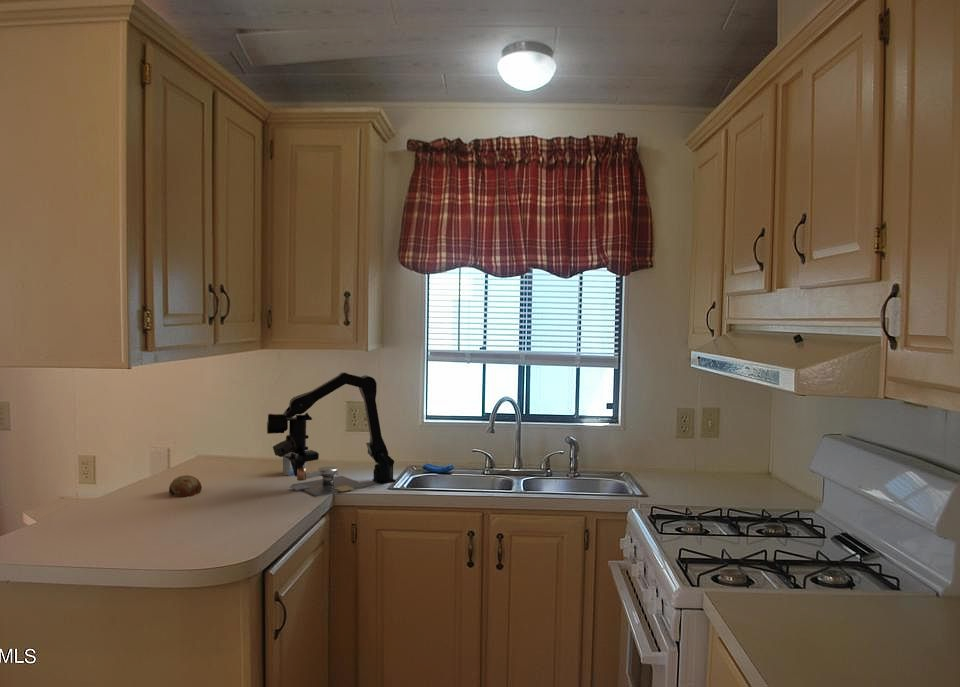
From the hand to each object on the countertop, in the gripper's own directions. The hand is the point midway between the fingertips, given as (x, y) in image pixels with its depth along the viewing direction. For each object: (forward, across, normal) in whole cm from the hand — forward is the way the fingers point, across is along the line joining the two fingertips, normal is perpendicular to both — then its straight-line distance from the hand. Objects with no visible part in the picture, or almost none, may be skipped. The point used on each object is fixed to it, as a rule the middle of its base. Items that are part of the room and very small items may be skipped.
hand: (296, 476), depth 217 cm
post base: (+4, +7, +8) cm, 12 cm away
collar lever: (0, +3, +6) cm, 7 cm away
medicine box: (+5, -20, +11) cm, 23 cm away
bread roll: (+5, -21, -30) cm, 37 cm away
